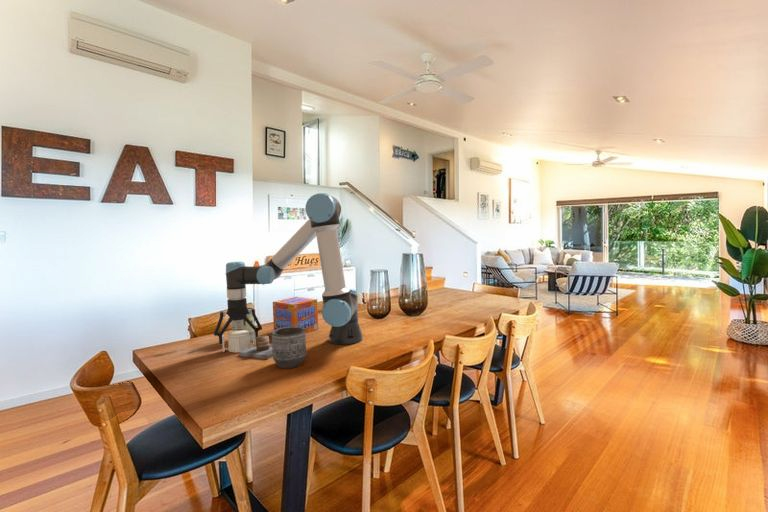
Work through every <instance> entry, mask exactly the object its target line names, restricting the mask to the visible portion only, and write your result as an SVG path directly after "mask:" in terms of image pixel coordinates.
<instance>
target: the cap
mask: <svg viewBox="0 0 768 512" xmlns="http://www.w3.org/2000/svg"><path fill="white" fill-rule="evenodd" d="M227 342H228V345H227V346H228V352H230V353H239V352H240V351H243V350H245V349H247V348H250V347H251V341H250V334H249V331H246V330H241V331H234V332H232V331H231V332H228V333H227Z"/></svg>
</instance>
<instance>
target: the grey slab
mask: <svg viewBox="0 0 768 512" xmlns="http://www.w3.org/2000/svg"><path fill="white" fill-rule="evenodd" d="M238 356H239V357H247V358H255V359H263V360H269V359H270V358H273V355H272V344H270V337H269V335H258V337H256V345H251V346H250V348H247V349H245V350H243V351H240V352H238Z"/></svg>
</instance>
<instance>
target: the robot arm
mask: <svg viewBox="0 0 768 512" xmlns="http://www.w3.org/2000/svg"><path fill="white" fill-rule="evenodd" d="M304 209H305V213H306V216H307V218H308V220H307V221H306V222H305V223H303V225H302V226H301V227H300V228H299V229H298V230H297V231H296V232H295V233H294V234H293V235H292V236H291V237H290V238H289V239H288V240H287V242H285V244H284V245H283V246H282V247H280V248H279V250H278V251H277V252H276V253H275V254H274V255H273V256H272V257H271V258H270V259H269V260H268V261H267V262H266V263H265V264H262V265H257V266H256V265H255V266H254V265H253V266H248V265H247V266H246V264H245V262H244V261H229V262H227V263H226V264H225V279H226V280H225V281H226V297H227V311H219V319H218V321H217V324H216V326H215V329H214V331H213V332H214V333H213V336H215V337H216V336H217V337H218V343H219V344H220V345H222V353H224V352H226V351H225V335H224V333H225V332H226V330H227V329H228V327H229V326H230V324H232V320H234V321H237V320H243V319H244V320H245V321H246V322H247V323H248V324H249V325H250V326H251V327H252V328H253V330H254V331H253V341H252V343H253V345H252V346H254V345H256V337H258V336H259V332H260V331H261V330H263V327H262V325H261V323H260V321H259V319H258V317H257V315H256V309H255V308H254V307H251V308H252V309H247V308H248V306H247V298H246V297H247V286H246V285H271V284H272V283H273V282H274V280H277V279H278V278H279V277H280V276H281V275H282V273H283V271H285V269H286V268H287V267H288V266H289V265H290V264H291V263H292V262H293V261H294V260H295V259H296V258H297V257H298V256H299V255H300V254H301V253H302V252H303V251H304V249H305V248H307V247H308V246H309V244H311V242H313V240H314V239H315V238H316V240H317V246H318V247H317V248H318V255H319V261H320V266H321V267H320V268H321V273H322V279H323V287H324V292H322V294H321V297H322V298H321V299H322V304H323V306H322V308H321V316H322V319H323V320H324V322H325V323H326V324H328V325H329V326H331V327H330V330H329V334H328V341H329V343H331V344H335V345H351V344H356V343H359V342H361V341H362V340H363V332H362V330H361V329H362V328H361V326H360V323H359V309H358V308H359V305H358V304H359V301H358V298H359V296H358V291H357V290H356V289H355V288H354V289H352V288H351V289H349V288H348V287H347V286H346V280H345V275H344V274H345V273H344V267H343V261H342V255H341V254H342V253H341V248H340V242H339V241H340V240H339V234H338V228H339V227H340V224H341V223H340V216H341V213H342V206H341V203H340V202H339V200H338V199H337V198H336V197H335V196H332V195H330V194H328V193H323V192H322V193H321V192H320V193H315V194H313V195H311V196H309V198H308V199H307V201H306V204H305V208H304ZM248 312H250V314H252V315H253V317H254V319H255V324H256V325H255V326H254V324H253V323H252V322H251V321H250V320H249V319H248V318H247V317H246V315H247V313H248ZM226 315H227V316H228V319H227V321H226V322H225V324H224V325H223V327H222V328H221V325H222V323H223V320H224V318H225V317H226ZM220 328H221V330H220ZM219 330H220V331H219Z"/></svg>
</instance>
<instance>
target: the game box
mask: <svg viewBox="0 0 768 512" xmlns="http://www.w3.org/2000/svg"><path fill="white" fill-rule="evenodd" d="M318 308H319V307H318V299H317V298H310V297H302V296H294V297H288V298H283V299H280V300H278V299H277V300H274V301H272V319H273V331H274V330H276V329H279V328H283V327H302V328H304V329H305V334H308V333H310V332H314V331H317V330H319V312H318V311H319V309H318Z"/></svg>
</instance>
